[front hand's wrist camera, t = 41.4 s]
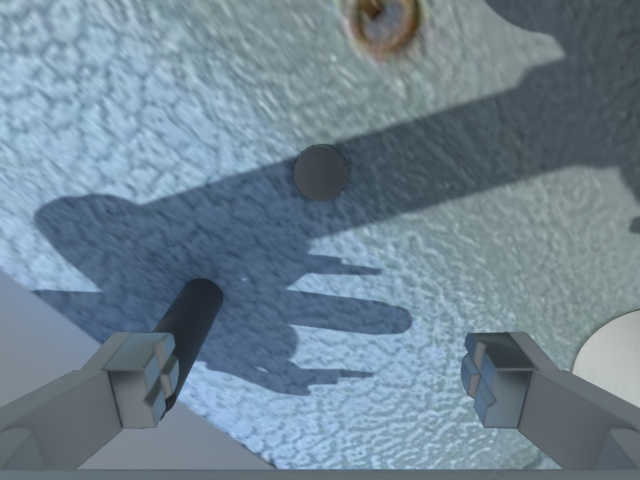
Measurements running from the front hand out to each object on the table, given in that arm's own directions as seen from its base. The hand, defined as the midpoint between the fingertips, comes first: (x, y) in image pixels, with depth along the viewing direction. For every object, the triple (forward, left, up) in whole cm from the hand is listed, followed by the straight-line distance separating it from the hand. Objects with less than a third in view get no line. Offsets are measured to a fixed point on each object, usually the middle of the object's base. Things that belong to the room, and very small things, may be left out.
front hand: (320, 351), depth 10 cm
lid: (0, 0, -26) cm, 26 cm away
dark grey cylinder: (-3, +18, -27) cm, 33 cm away
